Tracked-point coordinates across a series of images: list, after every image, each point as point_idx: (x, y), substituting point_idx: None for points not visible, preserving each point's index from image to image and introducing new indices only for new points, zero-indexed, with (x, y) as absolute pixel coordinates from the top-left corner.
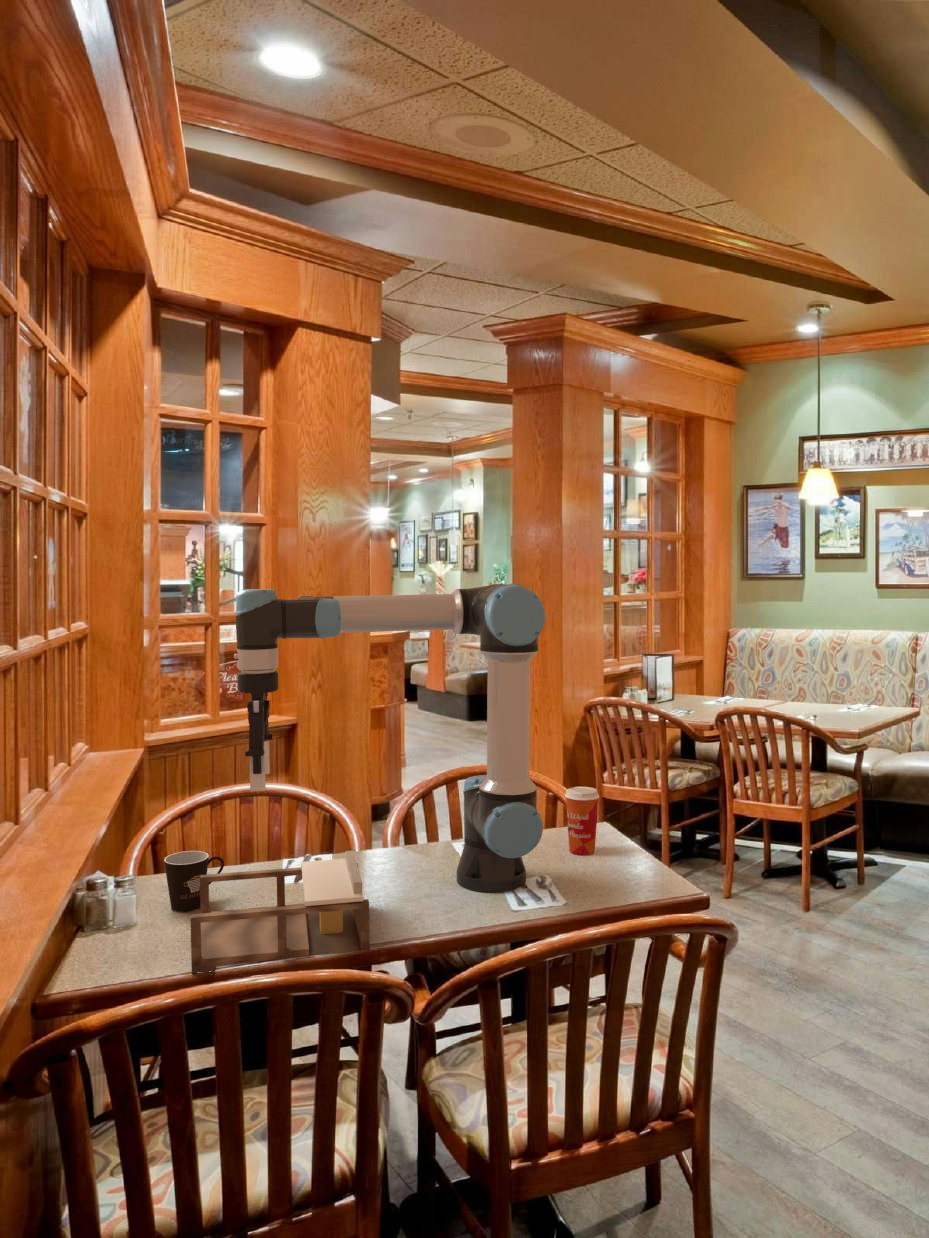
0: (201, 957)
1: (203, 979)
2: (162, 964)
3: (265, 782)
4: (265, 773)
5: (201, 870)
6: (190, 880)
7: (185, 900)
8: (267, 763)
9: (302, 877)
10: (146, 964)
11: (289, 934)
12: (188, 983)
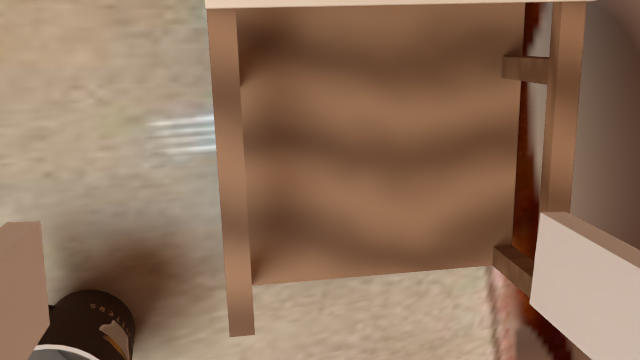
0: (502, 245)
1: (526, 226)
2: (435, 317)
3: (572, 227)
4: (42, 254)
5: (100, 341)
6: (126, 357)
7: (133, 341)
8: (7, 269)
9: (349, 5)
10: (427, 347)
11: (426, 50)
12: (535, 252)
